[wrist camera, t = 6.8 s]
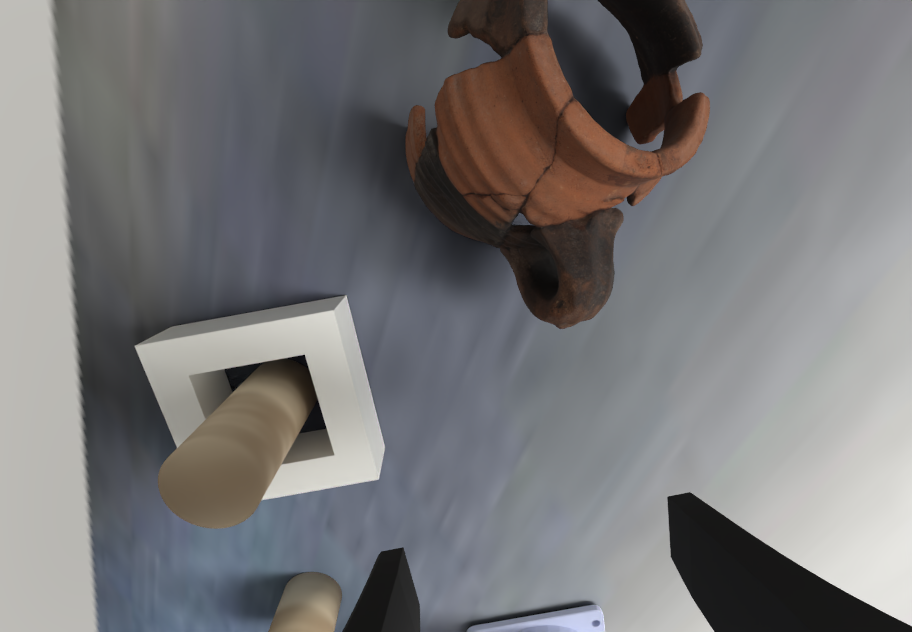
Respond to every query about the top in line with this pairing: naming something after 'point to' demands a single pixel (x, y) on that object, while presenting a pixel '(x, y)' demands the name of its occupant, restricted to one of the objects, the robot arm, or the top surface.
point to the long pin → (238, 447)
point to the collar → (265, 339)
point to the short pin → (308, 604)
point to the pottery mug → (552, 148)
